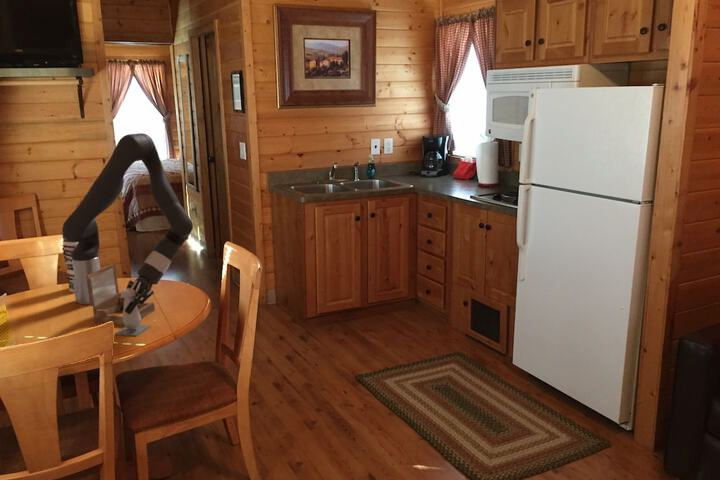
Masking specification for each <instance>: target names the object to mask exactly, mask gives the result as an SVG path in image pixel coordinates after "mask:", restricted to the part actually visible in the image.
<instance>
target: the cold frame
mask: <svg viewBox="0 0 720 480" xmlns="http://www.w3.org/2000/svg"><path fill="white" fill-rule="evenodd" d="M86 278H87V285H88V292H89V299H90V304H89V305H90V307H92V309H93V318H94V323H98V324H107V323H106V322H109V321H113V322H114V324H113V325H121V326H122V325H123V326H125V325H124V323H123V314H115V313H117V312H119V311H121V309H120V306H121V305H122V303H123V302H124V298H123V297H122V295H121V292H120V291H119V285H118V283H119V282H118V275H117V268H116V263H111V264H109V265H107V266H104V267H103V268H100V270H98V271H96V272H94V273H92V274H89V275H87V276H86ZM137 307H138V310H139V313H140V316H141V320H142V319H144V318H145V317H147V316H148V315H150V314H151V313H154V312H155V310H156V309H155V302H152V301H145V302H144V303H143V304H142V305H141V304H139V305H137Z"/></svg>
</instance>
